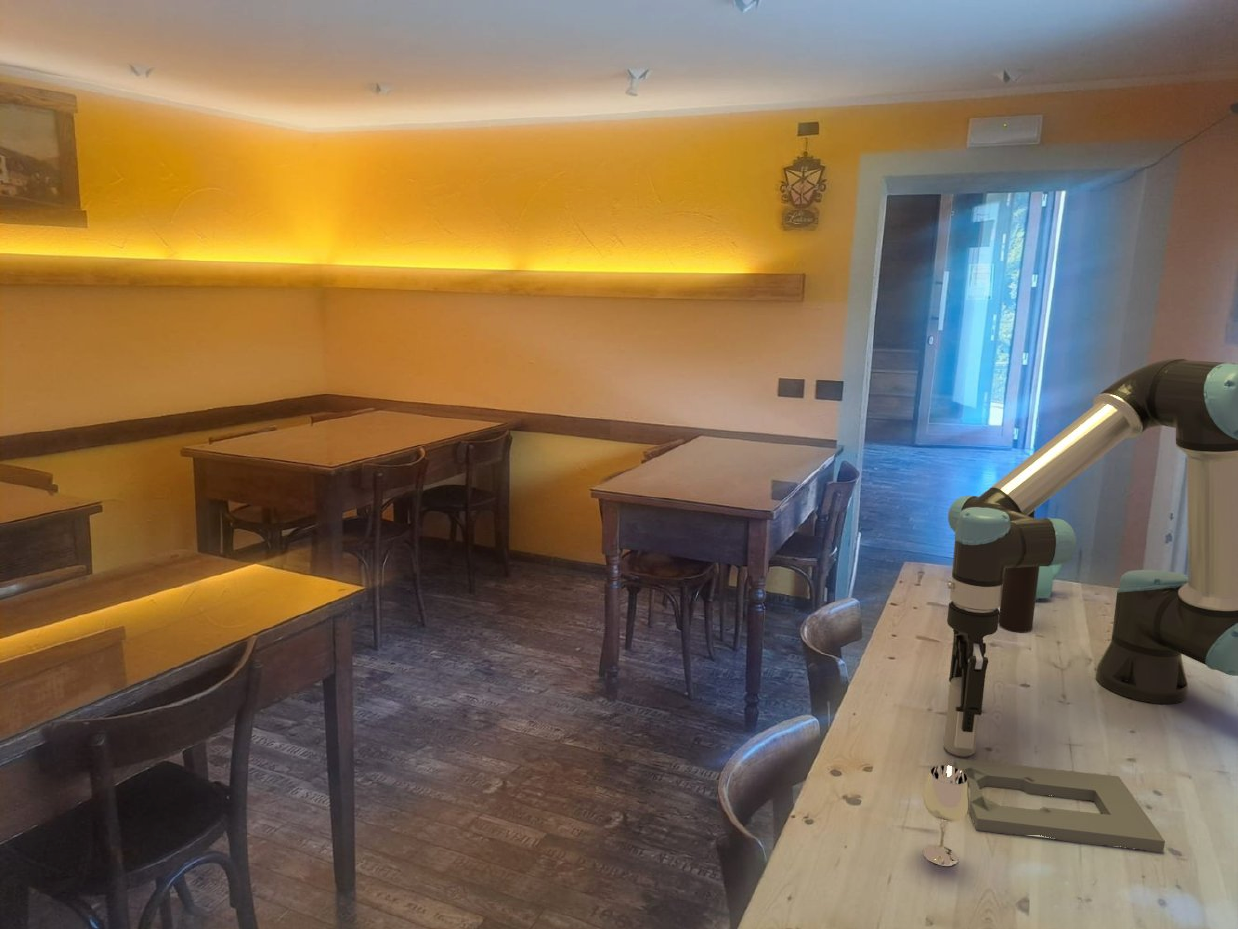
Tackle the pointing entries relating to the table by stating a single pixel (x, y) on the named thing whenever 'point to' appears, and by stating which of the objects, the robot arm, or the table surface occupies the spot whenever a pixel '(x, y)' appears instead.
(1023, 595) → the wine bottle
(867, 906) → the table surface
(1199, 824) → the table surface
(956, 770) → the wineglass
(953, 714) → the beverage can
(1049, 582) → the teapot
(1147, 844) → the flat rectangular frame
